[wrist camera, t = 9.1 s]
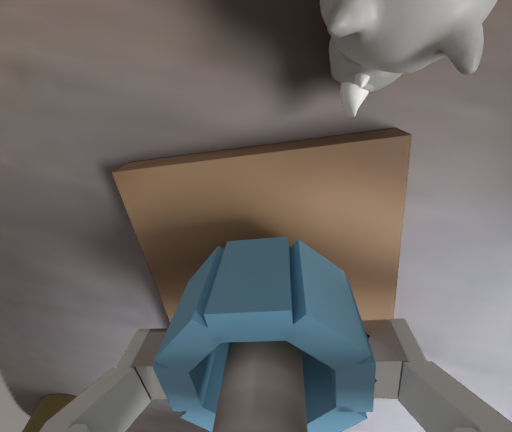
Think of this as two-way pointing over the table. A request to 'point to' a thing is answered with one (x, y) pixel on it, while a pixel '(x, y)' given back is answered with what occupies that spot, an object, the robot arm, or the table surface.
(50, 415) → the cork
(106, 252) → the table surface
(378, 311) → the post block
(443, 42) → the round bodied animal figurine
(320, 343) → the ring
